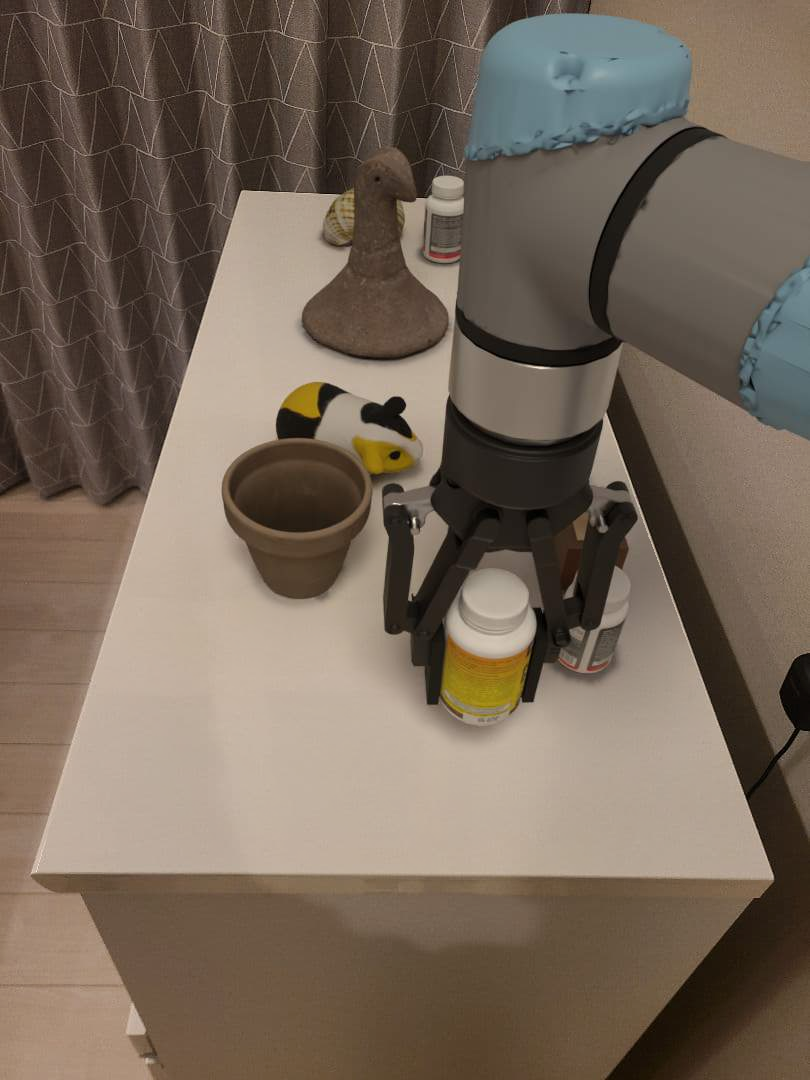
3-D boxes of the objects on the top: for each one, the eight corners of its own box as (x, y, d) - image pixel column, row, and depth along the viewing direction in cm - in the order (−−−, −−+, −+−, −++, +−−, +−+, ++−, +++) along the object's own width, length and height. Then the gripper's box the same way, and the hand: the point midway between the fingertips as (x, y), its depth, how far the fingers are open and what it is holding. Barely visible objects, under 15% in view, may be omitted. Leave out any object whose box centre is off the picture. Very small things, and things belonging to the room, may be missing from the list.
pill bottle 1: (470, 257, 111) (478, 183, 104) (440, 268, 109) (447, 194, 102) (443, 242, 114) (449, 169, 107) (413, 252, 112) (417, 179, 105)
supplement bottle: (527, 728, 54) (552, 627, 47) (441, 732, 53) (453, 630, 46) (512, 659, 58) (533, 556, 51) (433, 662, 57) (442, 558, 50)
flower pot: (397, 560, 72) (402, 471, 65) (316, 646, 65) (312, 558, 58) (291, 506, 76) (285, 417, 69) (205, 582, 69) (188, 492, 62)
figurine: (399, 512, 76) (403, 443, 70) (260, 460, 80) (253, 391, 75) (437, 461, 81) (443, 393, 76) (304, 415, 86) (301, 347, 80)
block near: (615, 589, 71) (629, 547, 67) (557, 589, 70) (568, 547, 67) (602, 547, 74) (615, 504, 70) (547, 547, 74) (557, 504, 70)
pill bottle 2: (610, 631, 67) (635, 561, 61) (612, 679, 64) (638, 609, 58) (551, 623, 68) (571, 552, 62) (550, 670, 64) (570, 600, 58)
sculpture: (427, 374, 92) (441, 194, 77) (282, 347, 94) (270, 167, 80) (460, 300, 103) (477, 131, 89) (330, 278, 106) (327, 109, 92)
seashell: (305, 235, 112) (324, 157, 108) (349, 246, 120) (368, 173, 116) (363, 256, 107) (385, 175, 104) (404, 266, 115) (426, 191, 112)
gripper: (694, 357, 43) (602, 639, 59) (329, 356, 42) (338, 644, 58) (744, 449, 37) (627, 731, 54) (327, 451, 36) (338, 739, 53)
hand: (478, 686), depth 56 cm, fingers closed on supplement bottle, 6 cm apart
